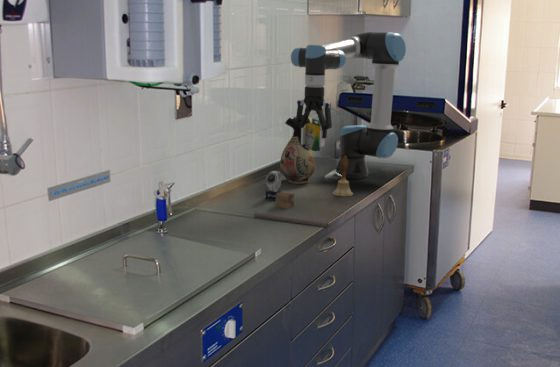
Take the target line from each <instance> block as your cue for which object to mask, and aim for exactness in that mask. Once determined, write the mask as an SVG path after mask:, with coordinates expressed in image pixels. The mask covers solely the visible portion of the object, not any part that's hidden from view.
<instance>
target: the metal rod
mask: <svg viewBox="0 0 560 367" xmlns="http://www.w3.org/2000/svg"><path fill="white" fill-rule="evenodd" d="M254 218H258V219H265V220H273V221H281V222H287V223H295V224H302V225H308V226H314V227H321V226H322V228H328V227H329V224H330V223H329V221H321V220H314V219H307V218H299V217H293V216H292V217H291V216H286V215H280V214H270V213H264V212H258V211H256V212H255V213H254Z"/></svg>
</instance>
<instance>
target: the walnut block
mask: <svg viewBox="0 0 560 367" xmlns="http://www.w3.org/2000/svg"><path fill="white" fill-rule="evenodd" d="M294 203H295V193H294V192H289V191H284V190H282V192H280V193H277V194H276V200H275V207H276V208H282V209H286V210H287V209H290V208H292V207H294V205H295V204H294Z"/></svg>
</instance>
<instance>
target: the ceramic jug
mask: <svg viewBox="0 0 560 367" xmlns="http://www.w3.org/2000/svg"><path fill="white" fill-rule="evenodd" d="M303 115H304V114H302V117H303ZM301 120H302V119H301ZM295 121H296V116H294V117H293V118H291V117H289V118H288V119H287V120H286V121H285V122H284V123H285V125H286V126H288V127H290V128H292V129H293V133H292V136H291V138H290V139H289V141H288V142H287V144H286V145H285V147H284V149H283V151H282V153H281V157H280V162H279V168H280V173H282V175H283V176H284V178H285V179H286V182H287V183H289V184H293V185H295V184H297V185H300V184H301V185H302V184H308V183H309V181H310V180H309V179H310V178H311V176H312V175H313V174H314V172H315V170H316V160H315V156H314V153H313V151H312V150H310V149H308V148H305V145H306V144H303V145H301V136H300V127H299V126H297V125H295ZM306 123H311V120H310V118H309V117H308V119H307V121H306ZM305 127H306V124H305Z"/></svg>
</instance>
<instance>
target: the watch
mask: <svg viewBox="0 0 560 367" xmlns="http://www.w3.org/2000/svg"><path fill="white" fill-rule="evenodd" d="M265 182H266V186H267V190H266V191H265V197H264V198H265V200H270V201H276V194H277V193H280V192H282V191H283V190H281V189H280V188H281V185H282V184H281V183H282V175H281V171H277V170H271V171H270V172H269V173H268V174H266V176H265Z"/></svg>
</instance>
